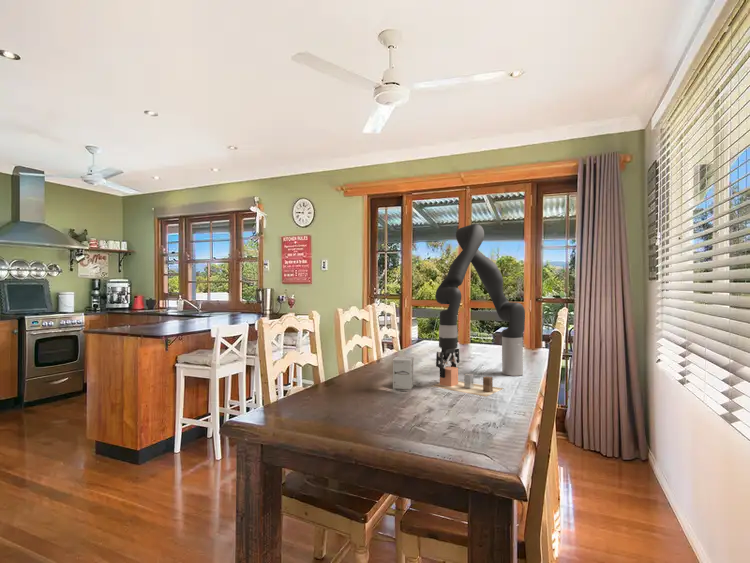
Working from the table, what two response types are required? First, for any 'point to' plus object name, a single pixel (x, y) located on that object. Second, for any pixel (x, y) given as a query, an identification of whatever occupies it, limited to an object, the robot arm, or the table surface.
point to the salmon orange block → (450, 376)
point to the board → (460, 388)
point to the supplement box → (402, 373)
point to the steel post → (468, 381)
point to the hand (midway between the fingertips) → (448, 375)
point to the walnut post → (488, 384)
